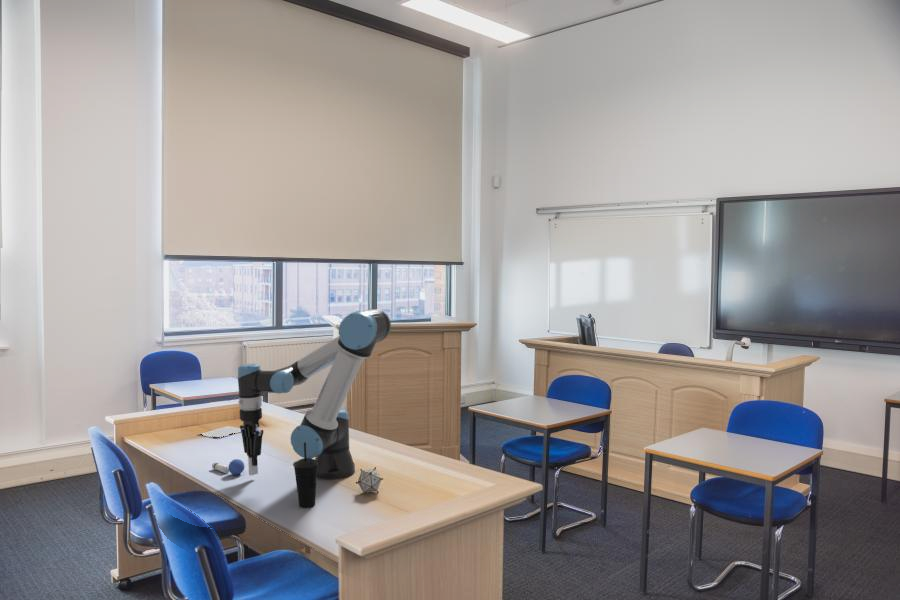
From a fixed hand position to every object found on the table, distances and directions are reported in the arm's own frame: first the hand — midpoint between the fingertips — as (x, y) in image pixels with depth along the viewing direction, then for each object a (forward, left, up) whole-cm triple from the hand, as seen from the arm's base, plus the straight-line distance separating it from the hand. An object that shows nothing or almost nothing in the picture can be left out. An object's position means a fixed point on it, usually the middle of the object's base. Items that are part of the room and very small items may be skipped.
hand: (253, 474), depth 236 cm
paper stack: (+60, -30, -3) cm, 67 cm away
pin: (+14, +1, -1) cm, 14 cm away
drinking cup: (-35, +6, -2) cm, 36 cm away
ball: (+10, 0, +1) cm, 10 cm away
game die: (-44, -12, -2) cm, 46 cm away
